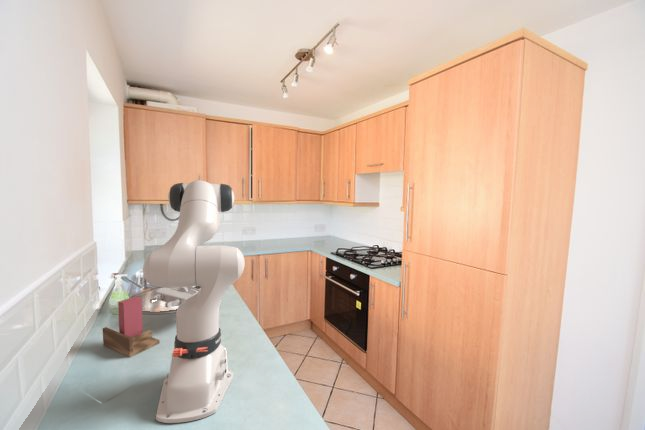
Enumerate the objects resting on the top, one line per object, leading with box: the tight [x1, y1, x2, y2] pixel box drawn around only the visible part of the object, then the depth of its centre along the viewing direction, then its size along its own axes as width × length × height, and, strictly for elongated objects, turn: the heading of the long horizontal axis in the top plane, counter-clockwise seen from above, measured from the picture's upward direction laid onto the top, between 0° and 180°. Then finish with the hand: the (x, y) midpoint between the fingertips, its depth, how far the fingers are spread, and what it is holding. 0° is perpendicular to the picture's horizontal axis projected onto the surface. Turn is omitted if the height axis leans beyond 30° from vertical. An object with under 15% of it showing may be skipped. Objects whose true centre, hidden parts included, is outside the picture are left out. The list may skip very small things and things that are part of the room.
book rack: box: [102, 326, 160, 358], centre depth 100 cm, size 10×16×6 cm, turn 63°
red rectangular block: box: [117, 296, 144, 337], centre depth 99 cm, size 6×3×15 cm, turn 153°
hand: (158, 303), depth 108 cm, fingers open, 8 cm apart
